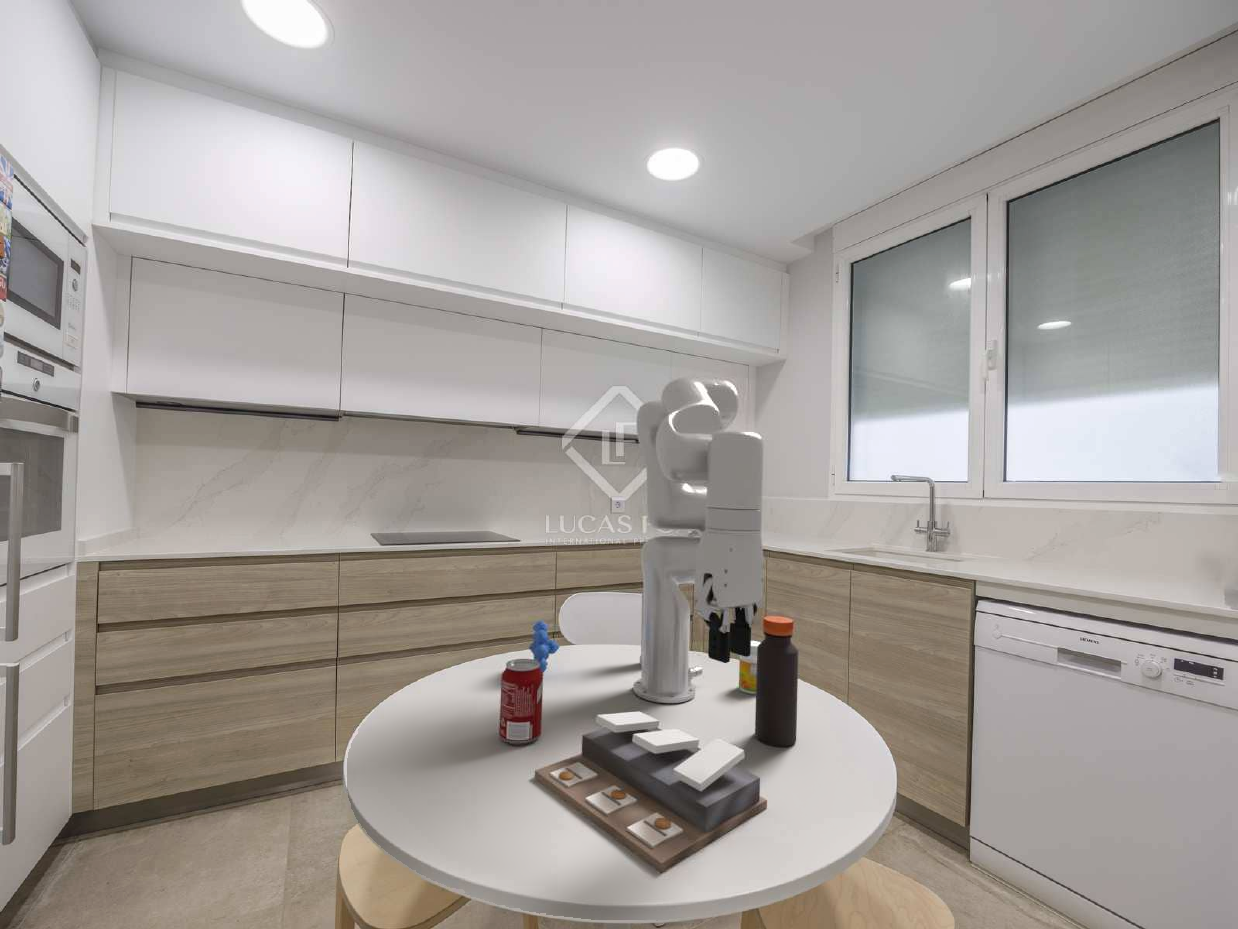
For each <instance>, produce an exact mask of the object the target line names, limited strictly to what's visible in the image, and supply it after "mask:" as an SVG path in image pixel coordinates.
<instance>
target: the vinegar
mask: <svg viewBox="0 0 1238 929" xmlns="http://www.w3.org/2000/svg"><path fill="white" fill-rule="evenodd" d="M762 625H763V628H762V629H763V630H762V631H763V636H764V639H763V640H762V641H761V642H760V644H759V645H758V647H757V675H756V694H755V712H754V713H755V714H754V716H755V717H754V721H755V722H754V735H755V737H756V739H758V741H760V742H761V743H764V744H766V745H768V746H773V747H779V748H780V747H781V748H783V747H784V748H785V747H790V746H792V745H794V744H795V743H796V742H797V729H798V727H797V720H798V689H799V688H798V687H799V686H798V685H799V684H798V683H799V682H798V680H799V678H798V677H799V650H798V648H797V647H796V646H795V645H794V643H793V642H792V638H793V635H794V620H793V619H792V618H789V617H785V616H776V615H771V616H770V615H768V616H765V617H763V624H762Z"/></svg>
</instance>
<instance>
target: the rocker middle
mask: <svg viewBox="0 0 1238 929" xmlns="http://www.w3.org/2000/svg"><path fill="white" fill-rule="evenodd" d="M661 730H662V731H654V732H645V733H637V734H633V739H632V742H634V743H636V744H638V745H640V746H641V747H643V748H645V749H647V750H649V751H651V752H653V753H655V754H657V753H663V752H670V751H676V750H682V749H688V748H695V747H698V748H699V743H700V739H699V738H696V737H694V736H692V735H691V734H688V733H686V732H684V731H682V730H679V729H677V728H672V729H665V730H663V729H661Z"/></svg>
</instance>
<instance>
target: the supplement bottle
mask: <svg viewBox="0 0 1238 929" xmlns="http://www.w3.org/2000/svg"><path fill="white" fill-rule="evenodd" d="M760 643H761V642H760V641H756V640H751V654H750V656H748V657H745V656H741V655H739V671H738V688H739V690H740V691H741V692H743V693H746V694H749V695H756V675H757V647H758V645H759V644H760Z"/></svg>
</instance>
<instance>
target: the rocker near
mask: <svg viewBox="0 0 1238 929" xmlns="http://www.w3.org/2000/svg"><path fill="white" fill-rule="evenodd" d="M700 749H701V750H700V751H698V752H697V753H695V754H694V755H693V756H691V757H690V758H688V759H687V760H686V761H684V762H683V763H681V764H680V765H679V766H677V767H676V768H674V769H673V771H674V777H676V778H678V779H679V780H681V781H683V782H685V783H687V784H688V785H690V786H692V787H694V788H695V789H697V790H699V791H702V790H704V789H705V788H706V787H708V786H709V785H710V784H711V783H713V782H714V781H715V780H716V779H718V778H719V777H720V776H722V775H723V774H724V773H725V772H727V771H728V770H729V769H731V768H732V767H733V766H734V765H735V766H737V764H738V763H739V762H741V761H742V760H743V759H745V755H746V754H745V750H744V749H742V748H741V747H738V746H736V745H733V744H732V743H730V742H727V741H725V740H722V739H720V738H718V737H716V738H715V739H714V740H712V741H711V742H710V743H708V744H707V745H706V746H703V747H702V748H700Z"/></svg>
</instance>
